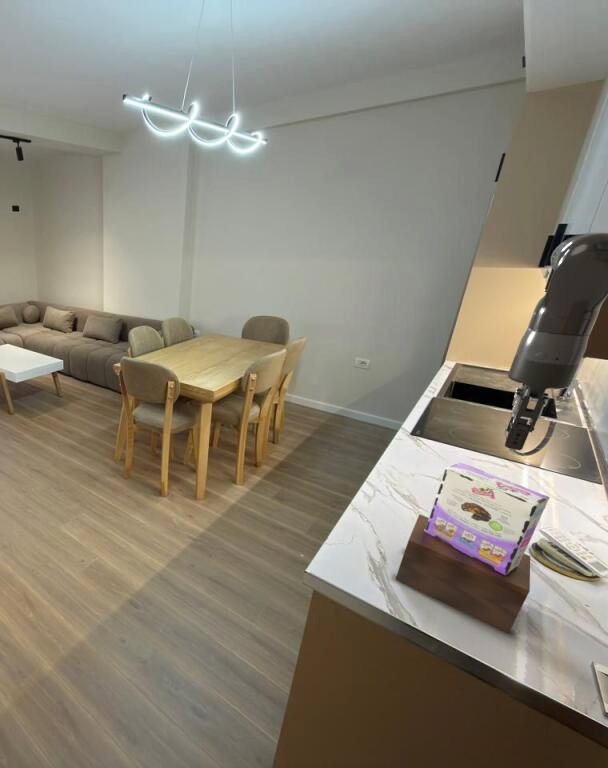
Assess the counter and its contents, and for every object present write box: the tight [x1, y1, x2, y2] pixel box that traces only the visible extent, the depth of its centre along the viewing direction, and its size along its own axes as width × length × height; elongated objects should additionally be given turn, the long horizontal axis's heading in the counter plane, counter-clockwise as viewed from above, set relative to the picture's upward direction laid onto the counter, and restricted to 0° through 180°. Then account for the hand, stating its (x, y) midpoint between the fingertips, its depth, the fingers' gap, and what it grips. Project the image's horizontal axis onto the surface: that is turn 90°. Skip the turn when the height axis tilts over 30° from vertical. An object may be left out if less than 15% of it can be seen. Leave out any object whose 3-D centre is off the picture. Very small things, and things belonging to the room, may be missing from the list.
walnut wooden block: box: [395, 513, 531, 635], centre depth 84 cm, size 18×12×11 cm, turn 44°
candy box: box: [424, 461, 550, 575], centre depth 79 cm, size 14×6×16 cm, turn 25°
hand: (513, 440), depth 73 cm, fingers open, 8 cm apart
